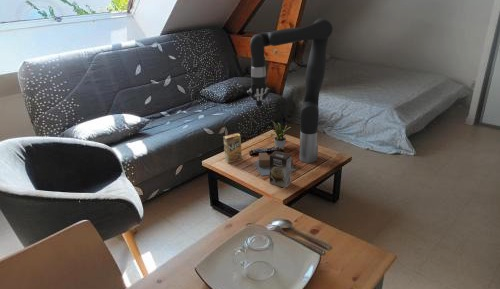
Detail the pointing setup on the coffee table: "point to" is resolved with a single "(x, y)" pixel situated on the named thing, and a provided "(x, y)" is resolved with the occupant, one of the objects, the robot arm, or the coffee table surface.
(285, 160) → the coffee box
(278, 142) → the house plant
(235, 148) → the candy box
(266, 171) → the slate rubber mat
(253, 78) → the robot arm
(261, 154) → the wooden block
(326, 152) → the coffee table surface
